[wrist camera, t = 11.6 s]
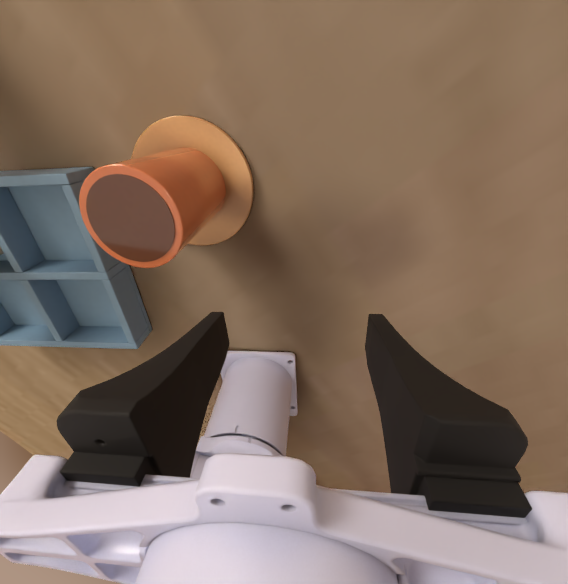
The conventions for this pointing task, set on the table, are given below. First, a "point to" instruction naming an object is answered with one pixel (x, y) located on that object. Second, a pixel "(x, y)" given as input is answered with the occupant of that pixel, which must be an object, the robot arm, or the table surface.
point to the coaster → (223, 154)
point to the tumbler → (151, 204)
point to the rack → (60, 269)
